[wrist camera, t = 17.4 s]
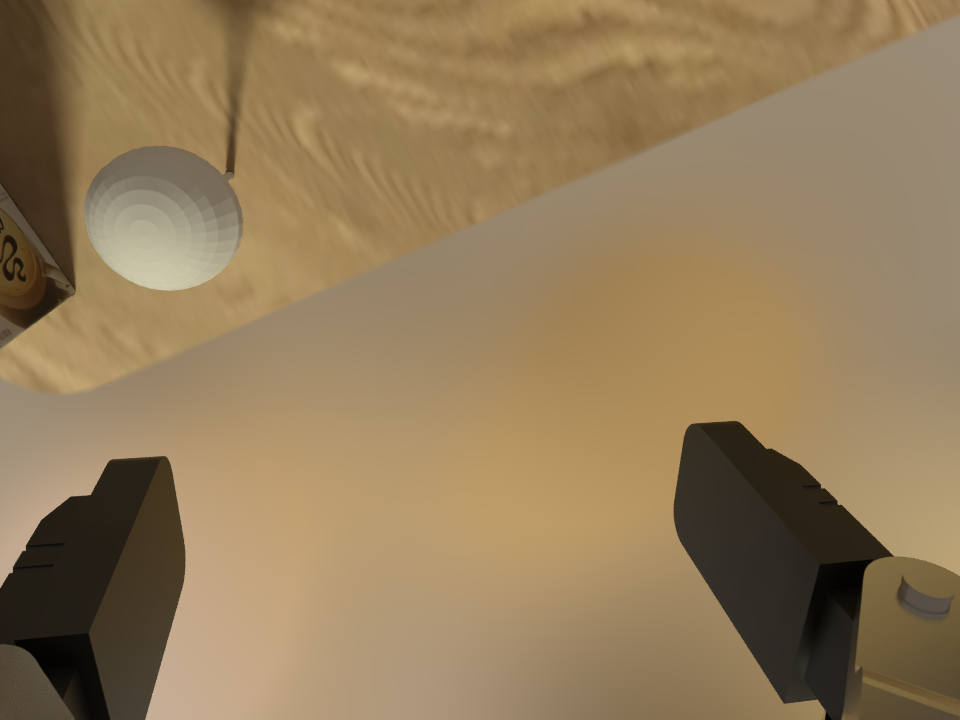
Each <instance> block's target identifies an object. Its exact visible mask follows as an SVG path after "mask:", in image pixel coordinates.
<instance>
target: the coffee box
mask: <svg viewBox="0 0 960 720" xmlns="http://www.w3.org/2000/svg"><path fill="white" fill-rule="evenodd" d="M74 295H75V290H74V288H73V287H72V285H71V284H70V283H69V281H68V280H67V278H66V277H65V275H64V274H63V272H62V271H61V269H60V268H59V266H58V265H57V264H56V262H55V261H54V259H53V258H52V256H51V255H50V254H49V252H48V251H47V249H46V248H45V246H44V245H43V244H42V242H41V241H40V239H39V238H38V237H37V235H36V234H35V232H34V231H33V229H32V228H31V227H30V225H29V224H28V222H27V221H26V219H25V218H24V217H23V215H22V214H21V212H20V211H19V209H18V208H17V207H16V205H15V204H14V202H13V201H12V199H11V198H10V196H9V195H8V194H7V192H6V191H5V189H4V188H3V186H2V185H1V184H0V350H1V349H2V348H3V347H4V346H6V345H7V344H8V343H10V342H11V341H12V340H13V339H15V338H16V337H17V336H19V335H20V334H21V333H23V332H24V331H26V330H27V329H28V328H30V327H31V326H32V325H34V324H35V323H36V322H38V321H39V320H40V319H42V318H43V317H44V316H46V315H47V314H48V313H50V312H51V311H52V310H54V309H55V308H56V307H57V306H59V305H60V304H62V303H63V302H64V301H66V300H67V299H69V298H71V297H73V296H74Z"/></svg>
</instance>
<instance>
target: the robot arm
mask: <svg viewBox="0 0 960 720" xmlns="http://www.w3.org/2000/svg"><path fill="white" fill-rule="evenodd" d="M674 521H675V527H676V531H677V534H678V537H679V539H680V542H681V543H682V545H683V547H684V548H685V550H686V551H687V553H688V554H689V556H690V558H691V559H692V561H693V562H694V564H695V565H696V567H697V568H698V570H699V572H700V573H701V575H702V576H703V578H704V579H705V581H706V583H707V584H708V585H709V587H710V589H711V590H712V592H713V594H714V595H715V597H716V598H717V600H718V601H719V603H720V604H721V606H722V608H723V609H724V611H725V612H726V614H727V615H728V617H729V618H730V620H731V622H732V623H733V625H734V626H735V628H736V629H737V631H738V633H739V634H740V635H741V637H742V639H743V640H744V642H745V644H746V645H747V647H748V648H749V650H750V651H751V653H752V654H753V656H754V658H755V659H756V661H757V662H758V664H759V665H760V667H761V668H762V670H763V672H764V673H765V675H766V676H767V678H768V679H769V681H770V683H771V684H772V685H773V687H774V689H775V690H776V692H777V693H778V695H779V697H780V698H781V700H782V701H783V703H784V704H786V703H793V702H801V701H809V700H817V699H818V700H819V702H820V703H821V705H822V706H823V708H824V709H825V712H824V715H823V718H822V720H960V576H958V575H957V574H955V573H953V572H951V571H949V570H947V569H945V568H943V567H940V566H938V565H936V564H933V563H929V562H927V561H923V560H919V559H915V558H907V557H894V556H893V555H892V554H891V553H890V552H889V551H888V550H887V549H886V548H885V547H884V546H883V545H882V544H881V543H880V542H879V541H878V540H877V539H876V538H875V537H874V536H873V535H872V534H871V533H870V532H869V531H868V530H867V529H866V528H864V526H862V524H860V522H858V521H857V520H856V519H855V518H854V517H853V516H852V515H851V514H850V513H849V512H848V511H847V510H846V509H845V508H844V507H843V506H842V505H838V504H837V500H836V499H835V498H834V497H833V496H832V495H831V494H830V493H829V492H828V491H827V490H826V489H821V484H820V483H819V482H818V481H817V480H816V479H815V478H813V476H812V475H810V473H809V472H808V471H807V470H806V469H804V468H803V467H802V466H801V465H800V464H798V463H797V462H795V461H793V460H791V459H789V458H787V457H786V456H783V455H782V454H780V453H778V452H777V451H775V450H773V449H766V448H765V447H764V446H763V445H762V444H761V443H760V442H759V441H758V440H757V439H756V438H755V437H754V436H753V435H752V434H751V433H750V432H749V431H748V430H747V429H746V428H745V427H744V426H743V425H742V424H741V423H740V422H737V421H728V422H712V423H696V424H691V425H690V426H689V427H688V428H687V430H686V433H685V436H684V441H683V448H682V454H681V461H680V467H679V474H678V481H677V487H676V494H675V500H674ZM184 575H185V545H184V538H183V532H182V526H181V520H180V515H179V509H178V503H177V498H176V491H175V485H174V480H173V474H172V469H171V465H170V462H169V460H168V458H167V457H165V456H159V457H145V458H128V459H112V460H110V461H109V462H108V464H107V466H106V467H105V469H104V471H103V473H102V475H101V477H100V479H99V480H98V482H97V484H96V486H95V488H94V490H93V492H92V494H91V495H88V496H73V497H70V498H68V499H67V500H66V501H65V502H63V503H62V504H61V505H60V506H58V507H57V508H56V509H55V510H53V511H52V512H51V513H50V514H48V515H47V516H46V517H45V518H43V519H42V520H41V521H40V523H39V525H38V527H37V528H36V530H35V531H34V533H33V535H32V537H31V538H30V540H29V541H28V543H27V545H26V551H23V552H22V553H21V555H20V557H19V558H18V560H17V562H16V563H15V565H14V567H13V573H9V575H8V577H7V578H6V580H5V581H4V583H3V585H2V587H1V588H0V720H145V718H146V714H147V711H148V707H149V704H150V700H151V697H152V693H153V690H154V686H155V683H156V679H157V676H158V672H159V668H160V665H161V661H162V658H163V654H164V651H165V647H166V643H167V640H168V637H169V633H170V629H171V626H172V622H173V619H174V615H175V612H176V608H177V605H178V601H179V598H180V594H181V591H182V587H183V582H184Z"/></svg>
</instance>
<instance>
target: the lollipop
mask: <svg viewBox="0 0 960 720" xmlns="http://www.w3.org/2000/svg"><path fill="white" fill-rule="evenodd" d="M233 178H234V174H233V173H232V172H227V173H225V174H224V175H222V174H221V173H220V172H219V171H218V170H217V169H216V168H215V167H213V166H212V165H211V164H210V163H208V162H207V161H206V160H204V159H203V158H201V157H199V156H197V155H195V154H194V153H191V152H188V151H185V150H183V149H180V148H174V147H168V146H152V147H142V148H138V149H134V150H130V151H128V152H126V153H124V154H122V155H120V156H118V157H116V158H115V159H114V160H112V161H111V162H110V163H109V164H107V165H106V166H105V167H104V168H102V169H101V170H100V172H99V173H98V174H97V175H96V177H95V178H94V179H93V181H92V183H91V185H90V187H89V189H88V191H87V195H86V200H85V204H84V220H85V225H86V229H87V233H88V236H89V238H90V240H91V242H92V244H93V247H94V248H95V250H96V251H97V252H98V254H99V255H100V257H101V258H102V259H103V260H104V261H105V262H106V263H107V264H108V265H109V266H110V267H111V268H112V269H113V270H114V271H116V272H117V273H118V274H120V275H121V276H123V277H124V278H126V279H128V280H130V281H132V282H134V283H136V284H138V285H141V286H144V287H147V288H151V289H158V290H183V289H187V288H191V287H195V286H198V285H200V284H202V283H204V282H206V281H208V280H210V279H211V278H213V277H214V276H216V275H217V274H218V273H220V272H221V271H222V270H224V269H225V267H226V266H227V265H228V264H229V263H230V262H231V261H232V259H233V257H234V256H235V254H236V252H237V250H238V248H239V245H240V242H241V238H242V231H243V218H242V211H241V207H240V204H239V201H238V199H237V196H236V194H235V192H234V190H233V189H232V187H231V185H230V184H229V181H231V180H232V179H233Z"/></svg>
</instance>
